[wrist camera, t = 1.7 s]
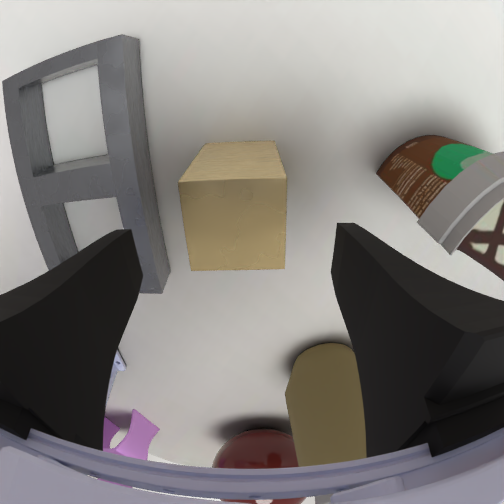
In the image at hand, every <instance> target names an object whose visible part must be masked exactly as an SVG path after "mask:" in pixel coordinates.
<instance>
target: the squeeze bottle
mask: <svg viewBox="0 0 504 504" xmlns="http://www.w3.org/2000/svg"><path fill="white" fill-rule="evenodd" d="M285 397H286V404H287V409H288V414H289V419H290V424H291V429H292V434H293V439H294V445H295V450H296V455H297V460H298V465H299V467H305V466H315V465H324V464H332V463H339V462H346V461H352V460H358V459H363V458H366V431H365V419H364V409H363V400H362V392H361V385H360V379H359V373H358V368H357V362H356V357H355V353H354V352H353V351H352V349H351V348H349V347H347V346H345V345H344V344H338V343H326V344H320V345H317V346H314V347H312V348H309V349H307V350H305V351H304V352H303V353H301V354H300V355H299V356H298V357H297V359H296V361H295V363H294V365H293V369H292V372H291V375H290V379H289V382H288V385H287V389H286V392H285ZM332 495H333V494H328V495H320V496H315V504H328V503H330V502H331V500H330V497H331V496H332Z"/></svg>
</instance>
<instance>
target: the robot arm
mask: <svg viewBox="0 0 504 504" xmlns="http://www.w3.org/2000/svg"><path fill="white" fill-rule="evenodd" d="M331 275H332V280H333V286H334V290H335V295H336V298H337V301H338V304H339V307H340V310H341V313H342V316H343V319H344V322H345V324H346V327H347V330H348V333H349V336H350V339H351V342H352V346H353V349H354V353H355V357H356V362H357V368H358V373H359V379H360V385H361V392H362V400H363V409H364V419H365V431H366V458H363V459H358V460H352V461H346V462H339V463H332V464H324V465H315V466H305V467H292V468H273V469H227V468H208V467H195V466H185V465H176V464H167V463H161V462H154V461H148V460H142V459H137V458H132V457H127V456H122V455H117V454H113V453H108V452H104V451H103V430H104V417H105V408H106V404H107V401H108V398H109V395H110V392H111V389H112V386H113V383H114V380H115V377H116V374H117V371H125V370H126V365H125V363H124V362H123V360H122V358H121V356H120V354H119V352H118V350H117V349H118V346H119V343H120V341H121V338H122V335H123V333H124V330H125V328H126V325H127V323H128V321H129V318H130V316H131V313H132V311H133V308H134V306H135V303H136V301H137V298H138V295H139V291H140V287H141V283H142V279H143V272H142V269H141V265H140V261H139V258H138V254H137V250H136V246H135V242H134V238H133V234H132V230H131V229H122V230H115V231H113V232H111V233H109V234H107V235H105V236H103V237H102V238H100V239H98V240H97V241H95V242H94V243H92V244H90V245H89V246H87V247H86V248H84V249H83V250H81V251H80V252H78V253H77V254H75V255H73V256H72V257H70V258H69V259H67V260H66V261H64V262H62V263H61V264H59V265H58V266H56V267H55V268H53V269H51V270H50V271H48V272H46V273H44V274H43V275H41V276H39V277H37V278H35V279H34V280H32V281H30V282H28V283H26V284H24V285H22V286H19V287H17V288H15V289H13V290H11V291H9V292H7V293H4V294H2V295H0V504H248V503H236V502H223V501H212V500H204V499H196V498H186V497H178V496H171V495H165V494H159V493H152V492H148V491H142V490H137V489H133V488H128V487H124V486H120V485H116V484H112V483H108V482H105V481H101V480H98V479H94V478H91V477H89V476H87V475H90V476H93V477H96V478H100V479H103V480H107V481H111V482H114V483H118V484H123V485H127V486H131V487H136V488H141V489H146V490H151V491H157V492H163V493H170V494H177V495H184V496H192V497H203V498H216V499H240V500H264V499H288V498H301V497H311V496H320V495H328V494H333V495H332V496H331V497H330V500H331V502H330V503H328V504H501V503H502V502H504V301H502V300H498V299H495V298H492V297H489V296H486V295H483V294H480V293H478V292H475V291H473V290H470V289H467V288H465V287H463V286H461V285H458V284H456V283H454V282H451V281H449V280H447V279H445V278H443V277H441V276H439V275H437V274H435V273H433V272H431V271H430V270H428V269H426V268H424V267H422V266H420V265H419V264H417V263H415V262H414V261H412V260H411V259H409V258H407V257H406V256H404V255H402V254H401V253H399V252H398V251H396V250H395V249H393V248H392V247H390V246H389V245H387V244H386V243H384V242H383V241H382V240H380V239H379V238H377V237H376V236H374V235H373V234H371V233H370V232H368V231H367V230H365V229H364V228H362V227H361V226H359V225H357V224H355V223H337V229H336V237H335V245H334V253H333V260H332V268H331Z"/></svg>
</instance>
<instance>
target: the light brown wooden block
mask: <svg viewBox="0 0 504 504" xmlns="http://www.w3.org/2000/svg"><path fill="white" fill-rule="evenodd" d="M178 187H179V194H180V202H181V209H182V216H183V223H184V229H185V236H186V242H187V248H188V255H189V261H190V266H191V271H208V270H259V269H285V243H286V202H287V177H286V174H285V171H284V168H283V165H282V162H281V159H280V156H279V153H278V150H277V147H276V144H275V141H245V142H222V143H206V144H205V145H204V146H203V147H202V149H201V150H200V152H199V153H198V154H197V156H196V157H195V158H194V160H193V161H192V163H191V164H190V166H189V167H188V168H187V170H186V171H185V173H184V174H183V176H182V177H181V179H180V180H179V181H178Z"/></svg>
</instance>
